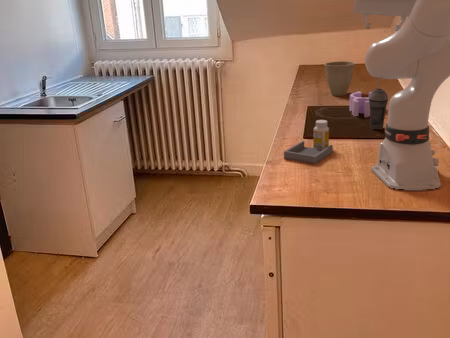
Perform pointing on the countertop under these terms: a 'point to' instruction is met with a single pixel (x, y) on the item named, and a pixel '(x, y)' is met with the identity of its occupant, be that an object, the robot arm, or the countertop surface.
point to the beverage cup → (377, 107)
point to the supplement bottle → (321, 135)
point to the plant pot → (339, 76)
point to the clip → (359, 104)
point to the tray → (307, 153)
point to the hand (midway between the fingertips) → (382, 30)
